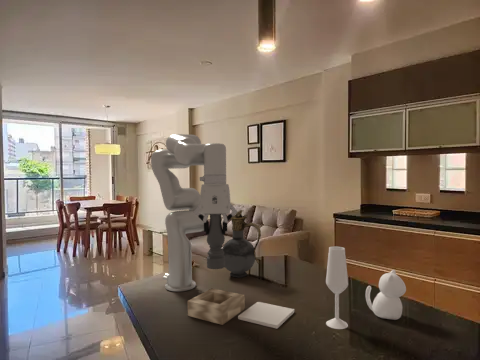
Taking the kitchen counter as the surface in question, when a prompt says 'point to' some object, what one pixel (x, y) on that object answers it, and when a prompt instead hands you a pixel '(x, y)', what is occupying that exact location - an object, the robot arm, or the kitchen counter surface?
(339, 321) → the champagne flute
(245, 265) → the pitcher
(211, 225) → the candle holder
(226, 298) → the socket block
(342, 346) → the kitchen counter surface
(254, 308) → the ceramic tile
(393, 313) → the cat figurine
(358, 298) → the kitchen counter surface
